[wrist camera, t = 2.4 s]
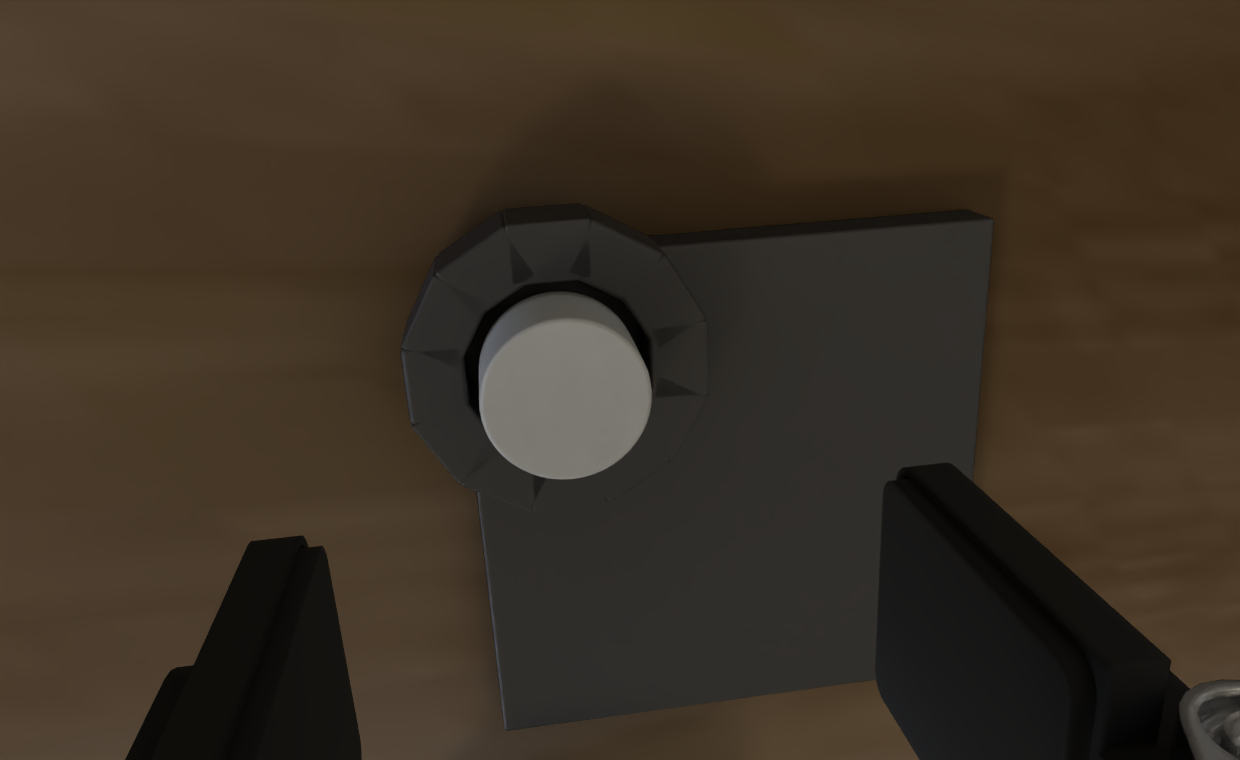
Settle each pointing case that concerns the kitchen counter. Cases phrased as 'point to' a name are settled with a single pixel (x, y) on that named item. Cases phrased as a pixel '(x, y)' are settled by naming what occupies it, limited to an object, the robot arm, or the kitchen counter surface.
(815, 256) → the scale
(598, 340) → the power button
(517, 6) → the kitchen counter surface
